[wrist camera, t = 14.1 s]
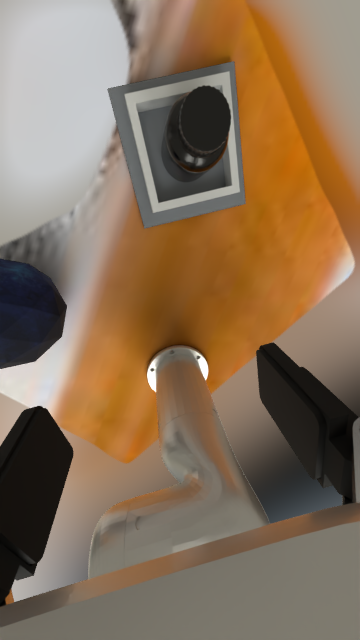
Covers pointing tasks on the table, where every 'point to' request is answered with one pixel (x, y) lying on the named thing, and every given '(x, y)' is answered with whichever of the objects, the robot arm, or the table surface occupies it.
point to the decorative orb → (27, 313)
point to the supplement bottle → (196, 133)
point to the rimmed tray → (146, 140)
